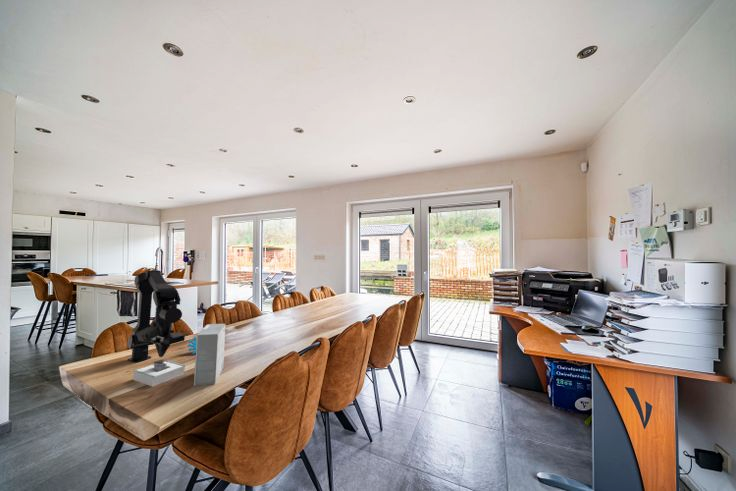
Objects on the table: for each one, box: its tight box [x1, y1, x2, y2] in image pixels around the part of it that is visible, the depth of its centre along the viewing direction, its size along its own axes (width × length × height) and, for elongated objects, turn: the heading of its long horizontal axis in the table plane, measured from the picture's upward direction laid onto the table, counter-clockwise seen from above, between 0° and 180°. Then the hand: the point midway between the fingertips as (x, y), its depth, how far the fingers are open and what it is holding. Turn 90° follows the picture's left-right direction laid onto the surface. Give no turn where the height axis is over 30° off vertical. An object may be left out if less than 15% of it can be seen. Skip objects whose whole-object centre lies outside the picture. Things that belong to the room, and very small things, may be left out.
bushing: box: [152, 359, 169, 372], centre depth 109 cm, size 5×5×6 cm
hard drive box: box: [193, 323, 226, 387], centre depth 111 cm, size 16×8×20 cm, turn 18°
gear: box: [187, 336, 197, 355], centre depth 138 cm, size 11×6×10 cm
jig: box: [132, 360, 186, 387], centre depth 109 cm, size 12×12×4 cm
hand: (161, 356), depth 109 cm, fingers closed
